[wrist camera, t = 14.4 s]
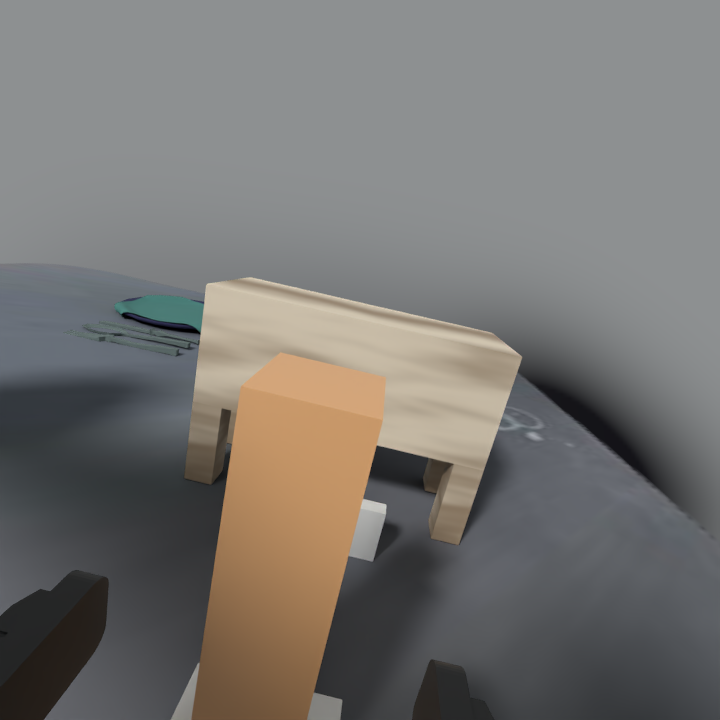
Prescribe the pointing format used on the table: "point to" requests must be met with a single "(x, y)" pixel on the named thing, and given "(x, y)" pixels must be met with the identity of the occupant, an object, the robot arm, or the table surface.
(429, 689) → the robot arm
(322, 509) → the orange post on base
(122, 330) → the cutlery set
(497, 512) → the table surface
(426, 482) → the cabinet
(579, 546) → the table surface
